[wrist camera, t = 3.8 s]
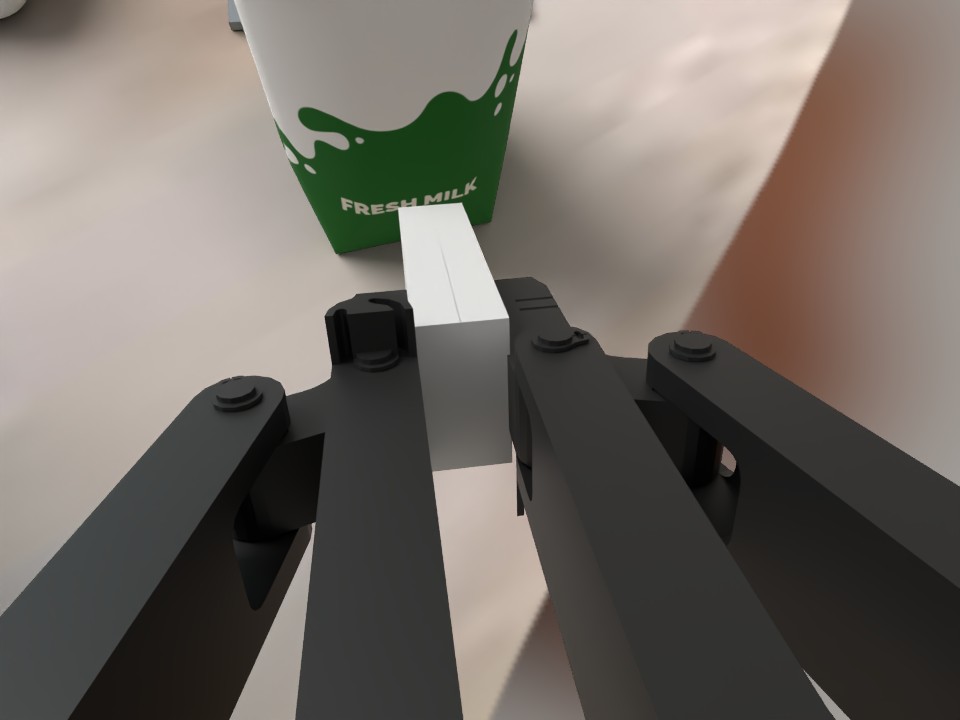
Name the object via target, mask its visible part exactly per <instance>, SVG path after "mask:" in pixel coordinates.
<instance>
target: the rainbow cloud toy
mask: <svg viewBox="0 0 960 720" xmlns="http://www.w3.org/2000/svg"><path fill="white" fill-rule="evenodd" d="M25 2H26V0H0V19H1V18H5V17H8V16H10V15H12V14H14V13H15V12H17V11H18V10H19V9H20V8H21V7H22V6H23V5H24V4H25Z"/></svg>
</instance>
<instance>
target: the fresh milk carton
mask: <svg viewBox="0 0 960 720" xmlns="http://www.w3.org/2000/svg"><path fill="white" fill-rule="evenodd" d="M234 2H235V5H236V8H237V11H238V14H239V17H240V20H241V23H242V26H243V29H244V32H245V35H246V38H247V41H248V44H249V47H250V50H251V53H252V56H253V59H254V62H255V65H256V68H257V70H258V73H259V76H260V79H261V82H262V85H263V88H264V91H265V94H266V97H267V100H268V103H269V106H270V109H271V112H272V115H273V118H274V121H275V124H276V127H277V129H278V132H279V135H280V138H281V141H282V144H283V146H284V149H285V152H286V154H287V157H288V159H289V161H290V164H291V166H292V168H293V170H294V172H295V174H296V176H297V178H298V180H299V182H300V184H301V186H302V188H303V190H304V192H305V194H306V196H307V198H308V200H309V202H310V204H311V206H312V208H313V210H314V212H315V214H316V216H317V218H318V220H319V222H320V224H321V225H322V227H323V229H324V231H325V233H326V235H327V237H328V239H329V241H330V243H331V245H332V247H333V249H334V251H335V253H336V254H339V253H344V252H349V251H354V250H358V249H363V248H368V247H373V246H378V245H382V244H387V243H392V242H397V241H401V233H400V223H399V212H398V208H400V207H414V206H427V205H440V204H453V203H462V205H463V207H464V209H465V212H466V214H467V217H468V219H469V222H470V224H471V226H473V225H477V224H482V223H487V222H491V219H492V214H493V209H494V204H495V199H496V194H497V189H498V184H499V179H500V174H501V169H502V164H503V159H504V154H505V149H506V144H507V139H508V134H509V128H510V122H511V117H512V112H513V107H514V102H515V96H516V91H517V86H518V80H519V75H520V70H521V64H522V59H523V54H524V48H525V43H526V37H527V32H528V27H529V21H530V16H531V11H532V5H533V0H234Z"/></svg>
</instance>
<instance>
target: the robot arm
mask: <svg viewBox="0 0 960 720" xmlns="http://www.w3.org/2000/svg"><path fill="white" fill-rule="evenodd" d="M398 212H399V223H400V233H401V244H402V254H403V264H404V275H405V285H406V290H398V291H386V292H375V293H363V294H356V295H355V296H354V297H353V298H352V299H349V300H346V301H343V302H340V303H338V304H336V305H335V306H333V307H332V308H330V309H329V310H328V311H327V313H326V315H325V316H324V317H325V323H326V329H327V335H328V342H329V348H330V354H331V361H332V372H331V378H330V379H329V380H327V381H326V382H325V383H323V384H321V385H319V386H317V387H315V388H312V389H309V390H306V391H303V392H300V393H296V394H292V395H289V396H286V395H285V390H284V388H283V386H282V385H281V383H280V382H278V381H276V380H274V379H272V378H269V377H262V376H245V377H244V376H236V377H232V379H230V378H228V379H224V380H221V381H220V382H218V383H216V384H214V385H212V386H210V387H208V388H205V389H204V390H203V391H201V392H200V393H199V394H198V395H196V396H195V397H194V398H193V399H192V400H191V401H190V403H189V404H188V405H187V406H186V407H185V408H184V409H183V411H182V412H181V413H180V414H179V415H178V416H177V417H176V418H175V420H174V421H173V422H172V423H171V424H170V425H169V426H168V427H167V429H166V430H165V431H164V432H163V433H162V434H161V435H160V437H159V438H158V439H157V440H156V441H155V442H154V443H153V444H152V446H151V447H150V448H149V449H148V450H147V451H146V452H145V454H144V455H143V456H142V457H141V458H140V459H139V460H138V461H137V463H136V464H135V465H134V466H133V467H132V468H131V469H130V471H129V472H128V473H127V474H126V475H125V476H124V477H123V478H122V480H121V481H120V482H119V483H118V484H117V485H116V486H115V488H114V489H113V490H112V491H111V492H110V493H109V494H108V495H107V497H106V498H105V499H104V500H103V501H102V502H101V503H100V504H99V506H98V507H97V508H96V509H95V510H94V511H93V512H92V514H91V515H90V516H89V517H88V518H87V519H86V520H85V521H84V523H83V524H82V525H81V526H80V527H79V528H78V529H77V531H76V532H75V533H74V534H73V535H72V536H71V537H70V538H69V540H68V541H67V542H66V543H65V544H64V545H63V546H62V548H61V549H60V550H59V551H58V552H57V553H56V554H55V555H54V557H53V558H52V559H51V560H50V561H49V562H48V563H47V565H46V566H45V567H44V568H43V569H42V570H41V571H40V572H39V574H38V575H37V576H36V577H35V578H34V579H33V580H32V581H31V583H30V584H29V585H28V586H27V587H26V588H25V589H24V591H23V592H22V593H21V594H20V595H19V596H18V597H17V598H16V600H15V601H14V602H13V603H12V604H11V605H10V606H9V608H8V609H7V610H6V611H5V612H4V613H3V614H2V615H1V617H0V720H229V719H230V717H231V715H232V712H233V710H234V708H235V706H236V703H237V701H238V699H239V697H240V695H241V692H242V690H243V688H244V686H245V684H246V681H247V679H248V677H249V675H250V672H251V670H252V668H253V666H254V664H255V661H256V659H257V657H258V655H259V652H260V650H261V648H262V646H263V644H264V641H265V639H266V637H267V635H268V632H269V630H270V628H271V626H272V624H273V621H274V619H275V617H276V615H277V612H278V610H279V608H280V606H281V604H282V601H283V599H284V597H285V595H286V593H287V590H288V588H289V586H290V584H291V581H292V579H293V577H294V575H295V573H296V570H297V568H298V566H299V564H300V561H301V559H302V557H303V555H304V553H305V550H306V548H307V546H308V544H309V541H310V539H311V533H312V525H311V524H312V523H315V522H316V525H315V535H314V545H313V554H312V564H311V574H310V583H309V593H308V602H307V612H306V622H305V631H304V641H303V650H302V660H301V670H300V679H299V689H298V699H297V708H296V718H295V720H463V714H462V706H461V698H460V690H459V682H458V674H457V666H456V658H455V650H454V642H453V634H452V626H451V618H450V610H449V602H448V594H447V586H446V578H445V571H444V563H443V555H442V547H441V539H440V531H439V523H438V515H437V507H436V499H435V491H434V483H433V475H432V471H441V470H449V469H458V468H467V467H476V466H485V465H494V464H502V463H511V462H512V441H513V445H514V448H515V451H516V468H517V516H521V515H524V507H525V510H526V514H527V517H528V521H529V524H530V528H531V531H532V535H533V538H534V542H535V545H536V549H537V552H538V556H539V559H540V563H541V566H542V570H543V573H544V577H545V580H546V584H547V587H548V591H549V594H550V598H551V601H552V605H553V608H554V612H555V615H556V618H557V622H558V625H559V629H560V632H561V636H562V639H563V643H564V646H565V650H566V653H567V656H568V660H569V664H570V667H571V671H572V674H573V678H574V681H575V685H576V688H577V692H578V695H579V699H580V702H581V706H582V709H583V712H584V716H585V719H586V720H835V718H834V717H833V715H832V714H831V713H830V712H829V710H828V709H827V707H826V706H825V704H824V702H823V701H822V699H821V698H820V696H819V694H818V693H817V691H816V690H815V688H814V687H813V685H812V683H811V682H810V680H809V678H808V677H807V675H806V674H805V672H806V673H807V674H809V676H810V677H811V678H812V679H813V680H814V681H815V682H816V683H817V684H818V685H819V686H820V687H821V689H822V690H823V691H824V692H825V693H826V694H827V695H828V696H829V697H830V698H831V699H832V700H833V701H834V702H835V703H836V705H837V706H838V707H839V708H840V709H841V710H842V711H843V712H844V713H845V714H846V715H847V716H848V717H849V718H850V720H960V486H958V485H956V484H954V483H953V482H952V481H950V480H948V479H947V478H945V477H943V476H942V475H940V474H939V473H937V472H935V471H933V470H932V469H931V468H929V467H927V466H926V465H924V464H923V463H921V462H919V461H918V460H916V459H915V458H913V457H911V456H910V455H908V454H906V453H905V452H903V451H902V450H900V449H899V448H897V447H895V446H893V445H892V444H890V443H888V442H887V441H885V440H884V439H882V438H881V437H879V436H877V435H876V434H874V433H873V432H871V431H870V430H868V429H866V428H865V427H863V426H862V425H860V424H858V423H857V422H855V421H854V420H852V419H850V418H849V417H847V416H845V415H844V414H842V413H841V412H839V411H837V410H836V409H834V408H832V407H831V406H829V405H828V404H826V403H825V402H823V401H821V400H820V399H818V398H816V397H815V396H813V395H812V394H810V393H809V392H807V391H805V390H803V389H802V388H800V387H799V386H797V385H796V384H794V383H793V382H791V381H789V380H788V379H786V378H785V377H783V376H781V375H780V374H778V373H776V372H775V371H773V370H772V369H770V368H768V367H767V366H765V365H763V364H762V363H760V362H759V361H757V360H756V359H754V358H752V357H751V356H749V355H748V354H746V353H744V352H743V351H741V350H740V349H738V348H736V347H735V346H733V345H732V344H730V343H728V342H726V341H724V340H722V339H720V338H717V337H715V336H712V335H707V334H703V333H701V332H699V331H691V332H689V331H678V332H674V333H666V334H663V335H661V336H658V337H655V338H654V339H653V340H652V341H651V342H650V343H649V346H648V357H647V359H639V358H624V357H616V356H609V355H605V353H604V352H603V350H602V348H601V347H600V345H599V344H598V342H597V340H596V339H595V338H594V337H593V336H592V335H591V334H590V333H588V332H586V331H584V330H581V329H579V328H575V327H570V325H569V324H568V322H567V320H566V319H565V317H564V315H563V313H562V312H561V310H560V308H559V307H558V305H557V303H556V301H555V300H554V299H553V296H552V294H551V293H550V291H549V289H548V288H547V286H546V285H544V284H543V283H541V282H539V281H537V280H535V279H534V278H532V277H525V278H514V279H502V280H493V277H492V275H491V273H490V270H489V268H488V265H487V263H486V260H485V258H484V256H483V253H482V251H481V248H480V246H479V243H478V241H477V239H476V236H475V234H474V231H473V229H472V226H471V224H470V222H469V219H468V217H467V214H466V212H465V209H464V207H463V205H462V203H453V204H440V205H427V206H414V207H400V208H398ZM724 446H725V447H726V448H727V449H728V450H729V451H730V452H731V454H732V455H733V456H734V458H735V460H736V468H735V471H734V472H732V471H731V470H729V469H728V468H727V467H726V466H724V465H723V464H722V463H721V460H722V453H723V447H724ZM802 668H803V669H804V670H805V672H804V670H803V669H802Z"/></svg>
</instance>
